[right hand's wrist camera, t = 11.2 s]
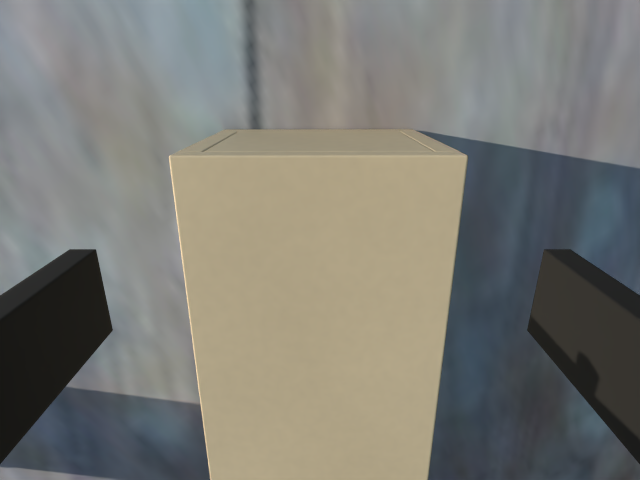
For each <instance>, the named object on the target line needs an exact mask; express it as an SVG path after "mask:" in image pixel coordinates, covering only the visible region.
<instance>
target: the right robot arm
mask: <svg viewBox="0 0 640 480" xmlns="http://www.w3.org/2000/svg"><path fill="white" fill-rule="evenodd" d="M112 330H113V329H112V324H111V320H110V315H109V310H108V305H107V300H106V296H105V291H104V286H103V281H102V276H101V272H100V267H99V262H98V257H97V252H96V249H70V250H68V251H67V252H65V253H64V254H62V255H61V256H59V257H58V258H56V259H55V260H53V261H52V262H50V263H49V264H47V265H46V266H44V267H43V268H41V269H40V270H38V271H37V272H35V273H34V274H32V275H31V276H29V277H28V278H26V279H24V280H23V281H21V282H20V283H18V284H17V285H15V286H14V287H12V288H11V289H9V290H8V291H6V292H5V293H3V294H2V295H0V464H1V463H2V461H3V460H4V459H5V458H6V457H7V455H8V454H9V453H10V452H11V451H12V449H13V448H14V447H15V446H16V445H17V443H18V442H19V441H20V440H21V439H22V438H23V436H24V435H25V434H26V433H27V432H28V430H29V429H30V428H31V427H32V426H33V424H34V423H35V422H36V421H37V420H38V418H39V417H40V416H41V415H42V414H43V413H44V411H45V410H46V409H47V408H48V407H49V405H50V404H51V403H52V402H53V401H54V399H55V398H56V397H57V396H58V395H59V394H60V392H61V391H62V390H63V389H64V388H65V386H66V385H67V384H68V383H69V382H70V380H71V379H72V378H73V377H74V376H75V374H76V373H77V372H78V371H79V370H80V369H81V367H82V366H83V365H84V364H85V363H86V361H87V360H88V359H89V358H90V357H91V355H92V354H93V353H94V352H95V351H96V349H97V348H98V347H99V346H100V345H101V344H102V342H103V341H104V340H105V339H106V338H107V336H108V335H109V334H110V333H111V332H112ZM527 330H528V332H529V333H530V334H531V335H532V336H533V338H534V339H535V340H536V341H537V342H538V344H539V345H540V346H541V347H542V348H543V349H544V351H545V352H546V353H547V354H548V355H549V357H550V358H551V359H552V360H553V361H554V363H555V364H556V365H557V366H558V367H559V369H560V370H561V371H562V372H563V373H564V374H565V376H566V377H567V378H568V379H569V380H570V382H571V383H572V384H573V385H574V386H575V388H576V389H577V390H578V391H579V392H580V394H581V395H582V396H583V397H584V398H585V399H586V401H587V402H588V403H589V404H590V405H591V407H592V408H593V409H594V410H595V411H596V413H597V414H598V415H599V416H600V417H601V418H602V420H603V421H604V422H605V423H606V424H607V426H608V427H609V428H610V429H611V430H612V432H613V433H614V434H615V435H616V436H617V438H618V439H619V440H620V441H621V442H622V443H623V445H624V446H625V447H626V448H627V449H628V451H629V452H630V453H631V454H632V455H633V457H634V458H635V459H636V460H637V461H638V463H639V464H640V295H638V294H637V293H635V292H634V291H632V290H631V289H629V288H628V287H626V286H625V285H623V284H622V283H620V282H619V281H617V280H616V279H614V278H612V277H611V276H609V275H608V274H606V273H605V272H603V271H602V270H600V269H599V268H597V267H596V266H594V265H593V264H591V263H590V262H588V261H587V260H585V259H584V258H582V257H581V256H579V255H578V254H576V253H575V252H573V251H572V250H570V249H544V252H543V257H542V262H541V267H540V272H539V276H538V281H537V286H536V291H535V296H534V300H533V305H532V310H531V315H530V320H529V324H528V329H527Z"/></svg>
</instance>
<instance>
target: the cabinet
mask: <svg viewBox="0 0 640 480" xmlns="http://www.w3.org/2000/svg"><path fill="white" fill-rule="evenodd" d="M169 162H170V169H171V177H172V185H173V193H174V201H175V208H176V216H177V224H178V232H179V239H180V247H181V255H182V263H183V270H184V278H185V286H186V294H187V302H188V309H189V317H190V325H191V333H192V340H193V348H194V356H195V364H196V372H197V379H198V387H199V395H200V403H201V410H202V418H203V426H204V434H205V441H206V449H207V457H208V465H209V473H210V480H428V475H429V467H430V459H431V451H432V443H433V435H434V427H435V419H436V411H437V403H438V395H439V387H440V379H441V371H442V363H443V355H444V347H445V339H446V331H447V323H448V315H449V307H450V299H451V291H452V283H453V275H454V267H455V259H456V251H457V243H458V235H459V227H460V219H461V211H462V203H463V195H464V187H465V179H466V171H467V163H468V155H465V154H463V153H461V152H460V151H458V150H456V149H454V148H452V147H449V146H447V145H445V144H443V143H441V142H439V141H437V140H435V139H432V138H430V137H428V136H426V135H424V134H422V133H420V132H418V131H415V130H413V129H305V130H223V131H221V132H219V133H217V134H214V135H212V136H210V137H208V138H206V139H204V140H202V141H200V142H197V143H195V144H193V145H191V146H189V147H187V148H185V149H183V150H180V151H178V152H177V153H174V154H172V155H170V156H169Z"/></svg>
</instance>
